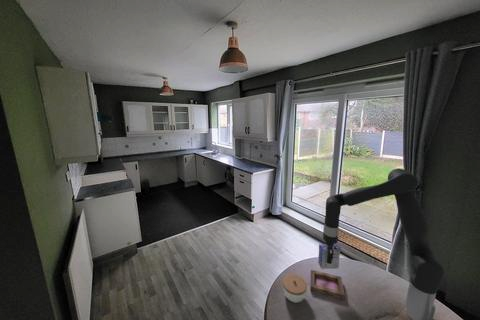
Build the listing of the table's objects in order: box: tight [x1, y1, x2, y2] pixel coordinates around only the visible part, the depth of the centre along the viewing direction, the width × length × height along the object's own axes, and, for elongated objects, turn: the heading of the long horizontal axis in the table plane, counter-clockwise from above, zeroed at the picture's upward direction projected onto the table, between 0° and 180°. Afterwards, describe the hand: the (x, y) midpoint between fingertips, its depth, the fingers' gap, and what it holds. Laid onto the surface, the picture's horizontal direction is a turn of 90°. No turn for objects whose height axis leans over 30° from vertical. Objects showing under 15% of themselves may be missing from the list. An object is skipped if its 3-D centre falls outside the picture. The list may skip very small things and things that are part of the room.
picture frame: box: [309, 269, 345, 302], centre depth 111 cm, size 17×13×4 cm
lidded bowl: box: [282, 273, 308, 304], centre depth 104 cm, size 13×13×11 cm
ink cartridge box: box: [317, 242, 341, 270], centre depth 107 cm, size 10×6×14 cm, turn 91°
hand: (328, 258), depth 107 cm, fingers closed on ink cartridge box, 6 cm apart
